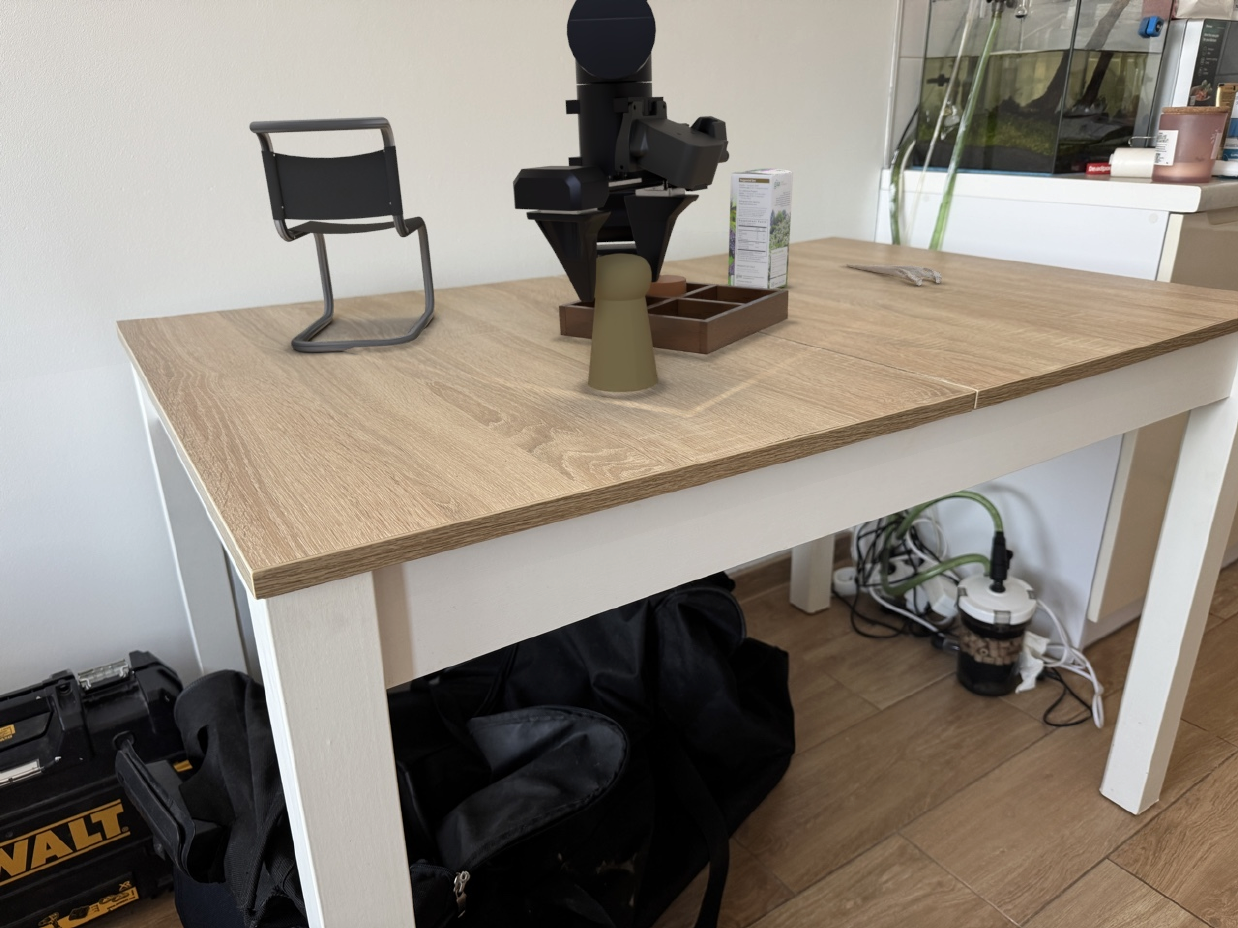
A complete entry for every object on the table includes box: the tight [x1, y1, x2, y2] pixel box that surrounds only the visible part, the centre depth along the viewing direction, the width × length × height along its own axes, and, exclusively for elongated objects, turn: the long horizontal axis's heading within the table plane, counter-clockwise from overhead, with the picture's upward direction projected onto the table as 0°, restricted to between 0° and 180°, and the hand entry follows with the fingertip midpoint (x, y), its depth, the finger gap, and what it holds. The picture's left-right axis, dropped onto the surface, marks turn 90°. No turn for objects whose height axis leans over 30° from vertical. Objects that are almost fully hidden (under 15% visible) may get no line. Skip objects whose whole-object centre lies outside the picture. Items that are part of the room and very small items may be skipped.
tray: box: [558, 281, 790, 355], centre depth 95 cm, size 17×17×4 cm
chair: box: [248, 116, 436, 353], centre depth 96 cm, size 13×17×22 cm
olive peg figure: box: [587, 254, 659, 397], centre depth 75 cm, size 6×6×11 cm
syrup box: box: [727, 167, 794, 289], centre depth 114 cm, size 6×6×14 cm
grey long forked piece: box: [846, 263, 943, 287], centre depth 123 cm, size 17×5×2 cm, turn 22°
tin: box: [646, 274, 687, 297], centre depth 101 cm, size 5×5×4 cm
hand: (620, 291), depth 74 cm, fingers open, 9 cm apart
